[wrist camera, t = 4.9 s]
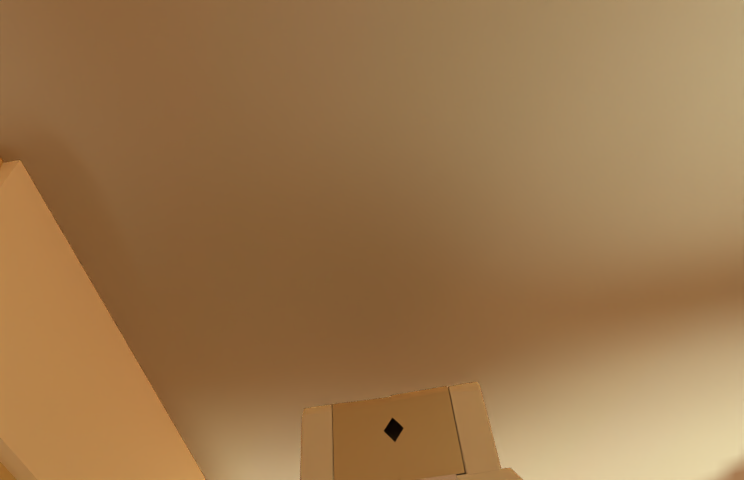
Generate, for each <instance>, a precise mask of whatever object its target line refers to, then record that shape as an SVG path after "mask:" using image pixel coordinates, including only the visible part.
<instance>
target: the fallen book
mask: <svg viewBox="0 0 744 480" xmlns="http://www.w3.org/2000/svg"><path fill="white" fill-rule="evenodd" d="M0 480H206V479H205V477H204V476H203V474H202V472H201V470H200V469H199V467H198V465H197V464H196V462H195V460H194V458H193V457H192V455H191V453H190V451H189V450H188V448H187V446H186V445H185V443H184V441H183V439H182V438H181V436H180V434H179V433H178V431H177V429H176V427H175V426H174V424H173V422H172V420H171V419H170V417H169V415H168V414H167V412H166V410H165V408H164V407H163V405H162V403H161V402H160V400H159V398H158V396H157V395H156V393H155V391H154V389H153V388H152V386H151V384H150V383H149V381H148V379H147V377H146V376H145V374H144V372H143V371H142V369H141V367H140V365H139V364H138V362H137V360H136V358H135V357H134V355H133V353H132V352H131V350H130V348H129V346H128V345H127V343H126V341H125V340H124V338H123V336H122V334H121V333H120V331H119V329H118V327H117V326H116V324H115V322H114V321H113V319H112V317H111V315H110V314H109V312H108V310H107V309H106V307H105V305H104V303H103V302H102V300H101V298H100V296H99V295H98V293H97V291H96V290H95V288H94V286H93V284H92V283H91V281H90V279H89V278H88V276H87V274H86V272H85V271H84V269H83V267H82V265H81V264H80V262H79V260H78V259H77V257H76V255H75V253H74V252H73V250H72V248H71V247H70V245H69V243H68V241H67V240H66V238H65V236H64V234H63V233H62V231H61V229H60V228H59V226H58V224H57V222H56V221H55V219H54V217H53V216H52V214H51V212H50V210H49V209H48V207H47V205H46V203H45V202H44V200H43V198H42V197H41V195H40V193H39V191H38V190H37V188H36V186H35V185H34V183H33V181H32V179H31V178H30V176H29V174H28V173H27V171H26V169H25V167H24V166H23V164H22V162H21V160H16V161H11V162H5V163H3V161H2V159H1V158H0Z"/></svg>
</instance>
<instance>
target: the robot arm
mask: <svg viewBox="0 0 744 480" xmlns="http://www.w3.org/2000/svg"><path fill="white" fill-rule="evenodd" d="M300 480H523V479H522V478H521V477H520V476H519V475H518V474H516V473H515V472H514V471H513V470H512V469H511V468H502V469H501V466H500V462H499V458H498V454H497V450H496V446H495V442H494V438H493V434H492V430H491V426H490V422H489V418H488V414H487V410H486V407H485V403H484V399H483V395H482V391H481V387H480V385H479V384H478V382H471V383H465V384H459V385H453V386H449V387H447V386H442V387H436V388H430V389H424V390H419V391H413V392H407V393H401V394H395V395H391V397H383V398H375V399H368V400H360V401H353V402H345V403H338V404H330V405H323V406H316V407H310V408H304V411H303V415H302V423H301V463H300Z"/></svg>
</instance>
